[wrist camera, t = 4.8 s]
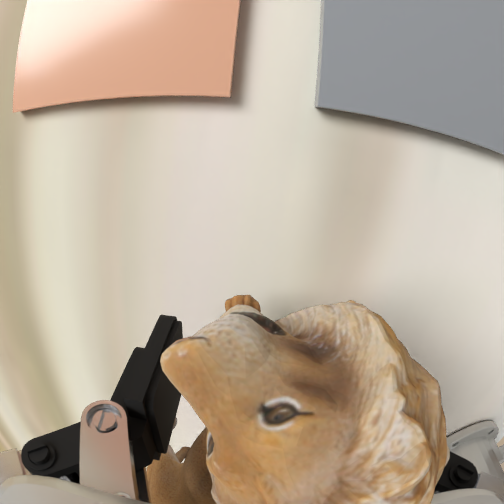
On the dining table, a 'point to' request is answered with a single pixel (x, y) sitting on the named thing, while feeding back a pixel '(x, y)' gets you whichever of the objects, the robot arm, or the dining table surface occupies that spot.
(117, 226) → the dining table surface
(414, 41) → the slate tile
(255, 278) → the dining table surface
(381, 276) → the dining table surface
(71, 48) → the terracotta tile
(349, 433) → the lion figurine
